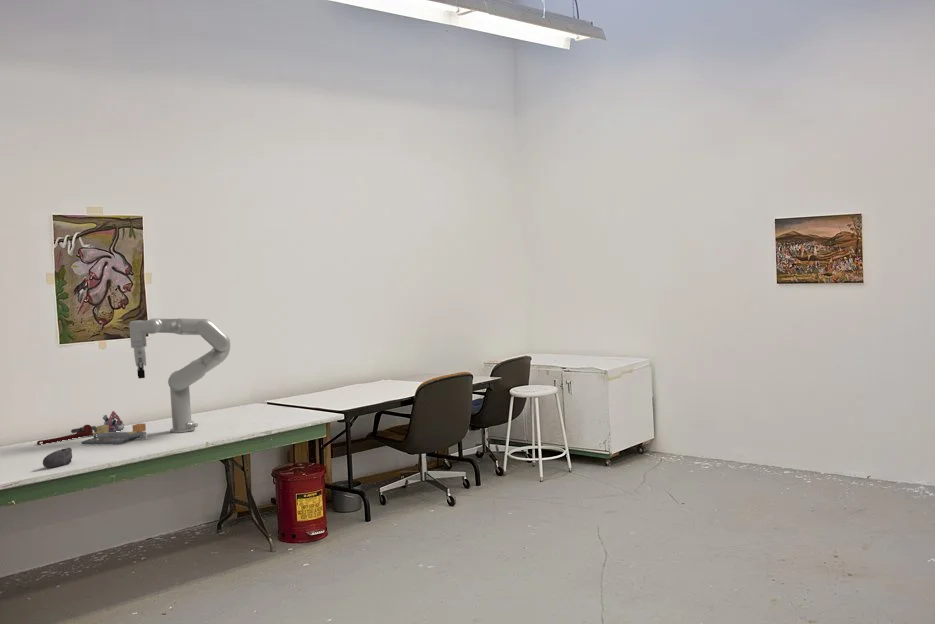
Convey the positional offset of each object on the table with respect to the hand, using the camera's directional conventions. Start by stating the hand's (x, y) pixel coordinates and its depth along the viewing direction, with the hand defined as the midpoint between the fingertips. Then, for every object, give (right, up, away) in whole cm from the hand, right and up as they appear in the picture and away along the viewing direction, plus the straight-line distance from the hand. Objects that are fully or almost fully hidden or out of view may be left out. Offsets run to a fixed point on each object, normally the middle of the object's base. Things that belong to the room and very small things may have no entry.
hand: (141, 377), depth 447 cm
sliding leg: (+3, -28, -15) cm, 32 cm away
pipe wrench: (-36, -32, -3) cm, 49 cm away
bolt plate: (-8, -31, -14) cm, 35 cm away
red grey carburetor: (-21, -30, +16) cm, 40 cm away
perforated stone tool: (-11, -34, -68) cm, 77 cm away
